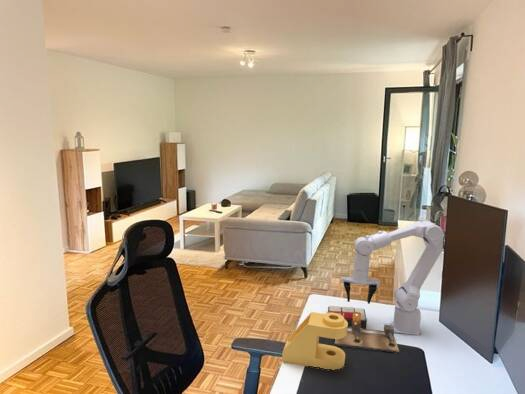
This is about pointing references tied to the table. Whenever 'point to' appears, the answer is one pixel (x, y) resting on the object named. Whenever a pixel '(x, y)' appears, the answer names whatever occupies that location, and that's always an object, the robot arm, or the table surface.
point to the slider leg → (356, 324)
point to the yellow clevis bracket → (316, 342)
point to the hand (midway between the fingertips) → (358, 301)
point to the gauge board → (371, 339)
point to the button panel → (349, 314)
